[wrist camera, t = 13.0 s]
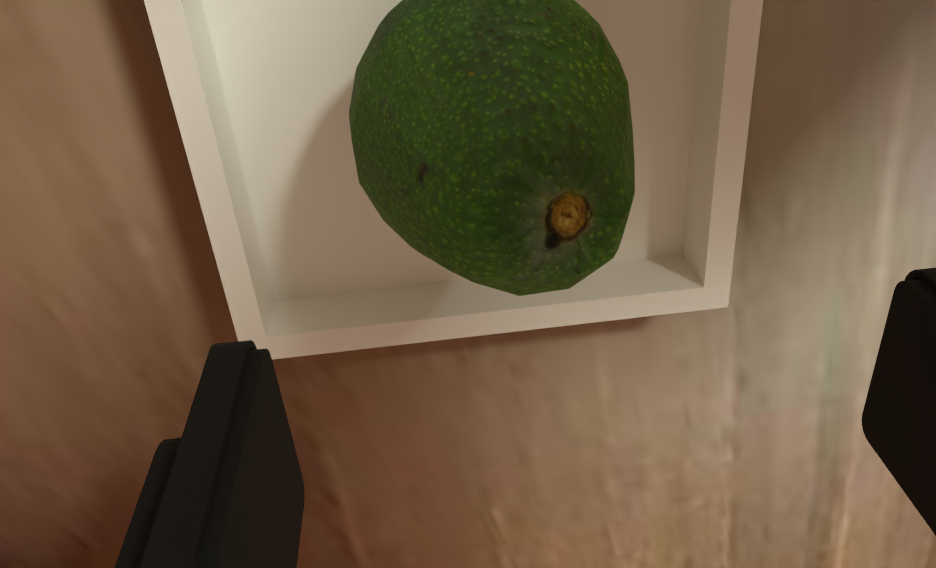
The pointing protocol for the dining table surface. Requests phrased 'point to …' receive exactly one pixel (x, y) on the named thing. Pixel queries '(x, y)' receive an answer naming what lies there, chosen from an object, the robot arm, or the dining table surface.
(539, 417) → the dining table surface
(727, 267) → the tray
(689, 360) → the dining table surface
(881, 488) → the dining table surface
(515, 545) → the dining table surface
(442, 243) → the avocado
